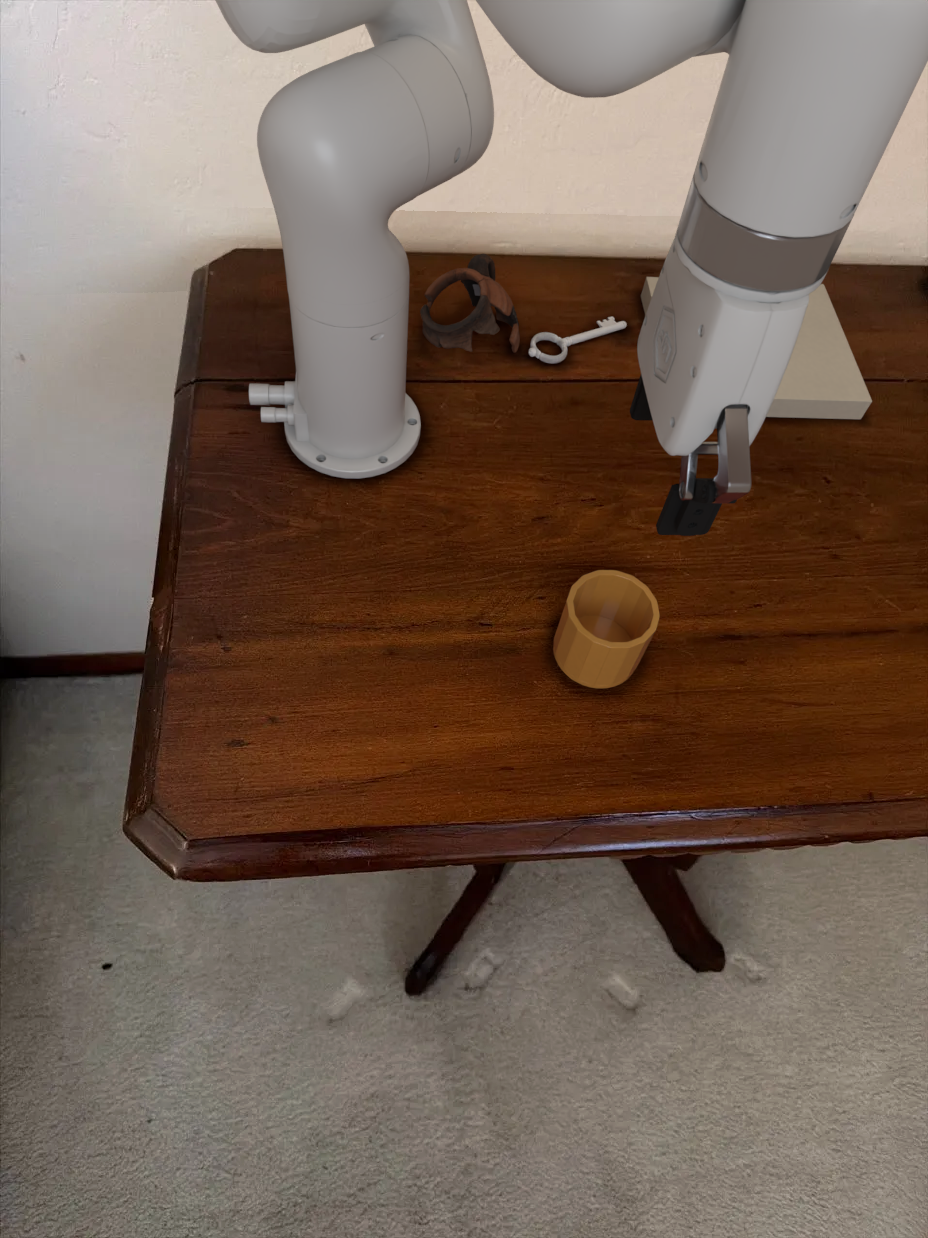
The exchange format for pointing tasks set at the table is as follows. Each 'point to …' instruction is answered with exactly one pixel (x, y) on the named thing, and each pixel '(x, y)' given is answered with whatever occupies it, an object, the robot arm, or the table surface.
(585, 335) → the key
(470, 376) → the table surface
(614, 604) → the cup
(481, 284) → the brown grey ring-shaped piece
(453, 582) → the table surface
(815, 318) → the board
